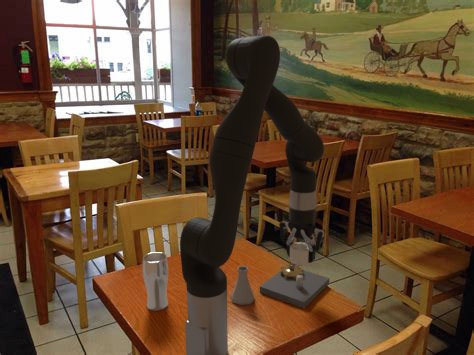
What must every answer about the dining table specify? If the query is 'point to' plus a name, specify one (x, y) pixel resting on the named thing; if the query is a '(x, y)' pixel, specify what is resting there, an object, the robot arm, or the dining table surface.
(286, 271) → the brass gear
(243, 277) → the flask
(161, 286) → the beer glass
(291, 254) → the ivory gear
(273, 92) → the robot arm
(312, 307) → the dining table surface
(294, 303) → the board
